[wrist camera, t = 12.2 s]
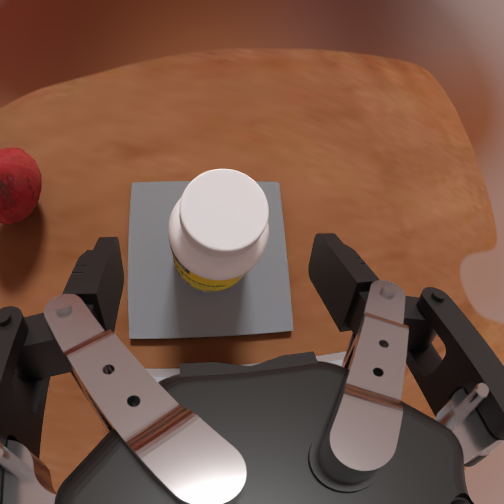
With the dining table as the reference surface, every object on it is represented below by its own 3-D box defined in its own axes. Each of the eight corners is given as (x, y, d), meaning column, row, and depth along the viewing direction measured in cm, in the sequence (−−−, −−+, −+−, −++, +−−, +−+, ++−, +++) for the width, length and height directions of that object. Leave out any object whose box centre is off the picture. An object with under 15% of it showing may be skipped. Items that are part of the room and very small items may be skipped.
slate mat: (130, 338, 21) (129, 338, 20) (133, 185, 23) (132, 182, 23) (291, 330, 23) (293, 330, 23) (277, 184, 26) (278, 182, 25)
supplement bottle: (159, 264, 22) (137, 215, 13) (203, 209, 24) (214, 134, 14) (218, 309, 22) (239, 293, 13) (260, 251, 24) (306, 198, 14)
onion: (64, 209, 22) (23, 162, 14) (15, 249, 20) (-39, 217, 12) (43, 162, 22) (7, 110, 15) (-3, 198, 21) (-48, 158, 13)
